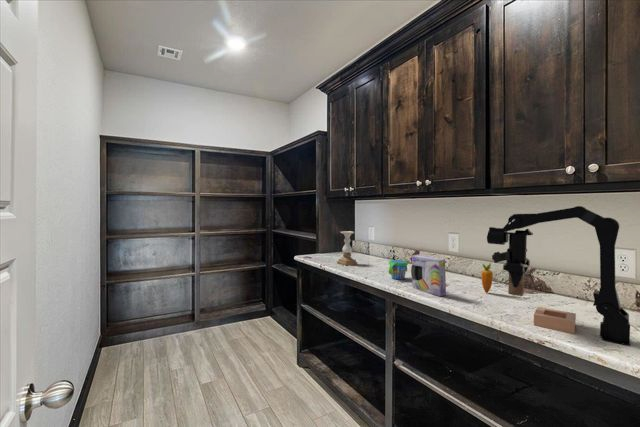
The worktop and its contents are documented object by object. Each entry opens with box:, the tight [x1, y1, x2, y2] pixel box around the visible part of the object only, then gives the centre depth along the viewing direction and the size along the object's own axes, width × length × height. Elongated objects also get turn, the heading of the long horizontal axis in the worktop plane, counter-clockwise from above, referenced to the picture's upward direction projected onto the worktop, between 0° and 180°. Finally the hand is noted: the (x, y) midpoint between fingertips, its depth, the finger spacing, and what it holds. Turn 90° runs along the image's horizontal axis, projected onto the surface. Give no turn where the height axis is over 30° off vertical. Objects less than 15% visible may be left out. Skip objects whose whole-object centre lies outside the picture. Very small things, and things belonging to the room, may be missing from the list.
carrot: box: [481, 262, 494, 294], centre depth 154 cm, size 5×5×15 cm
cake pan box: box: [410, 254, 447, 297], centre depth 156 cm, size 19×5×18 cm, turn 27°
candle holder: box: [336, 230, 358, 267], centre depth 227 cm, size 11×11×24 cm
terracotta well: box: [533, 306, 577, 334], centre depth 113 cm, size 12×12×4 cm
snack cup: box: [388, 259, 409, 280], centre depth 183 cm, size 16×10×10 cm
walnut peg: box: [507, 268, 526, 297], centre depth 120 cm, size 4×4×10 cm
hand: (516, 286), depth 120 cm, fingers closed on walnut peg, 4 cm apart
